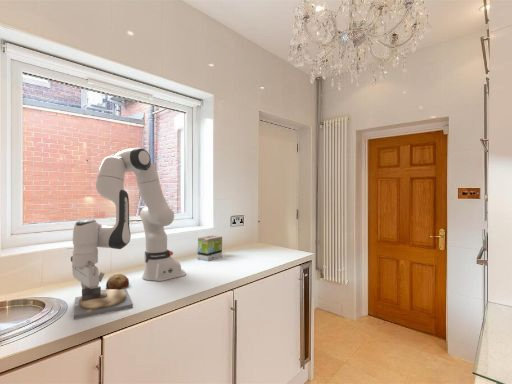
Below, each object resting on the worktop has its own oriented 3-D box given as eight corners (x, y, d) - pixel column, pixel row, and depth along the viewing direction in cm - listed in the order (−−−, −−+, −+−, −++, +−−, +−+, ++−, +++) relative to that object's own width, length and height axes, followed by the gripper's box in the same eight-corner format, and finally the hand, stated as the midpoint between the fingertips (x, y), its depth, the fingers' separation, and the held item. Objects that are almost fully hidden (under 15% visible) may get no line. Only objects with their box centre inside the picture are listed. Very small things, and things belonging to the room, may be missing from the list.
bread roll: (105, 294, 138) (98, 281, 135) (123, 280, 145) (117, 267, 142) (116, 298, 132) (109, 285, 129) (134, 283, 140) (128, 270, 137)
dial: (122, 289, 128) (122, 277, 128) (129, 302, 114) (129, 288, 114) (78, 297, 119) (78, 284, 119) (80, 312, 105) (80, 297, 105)
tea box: (208, 261, 186) (208, 239, 186) (197, 259, 192) (197, 237, 192) (222, 256, 199) (222, 236, 199) (211, 255, 205) (211, 234, 204)
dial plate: (126, 292, 130) (126, 288, 130) (132, 307, 113) (132, 303, 113) (75, 300, 120) (75, 296, 120) (73, 319, 103) (73, 314, 103)
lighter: (88, 292, 129) (88, 275, 129) (87, 291, 131) (87, 274, 130) (104, 288, 135) (104, 272, 134) (103, 287, 136) (103, 271, 136)
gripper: (103, 262, 110) (103, 297, 110) (85, 254, 124) (85, 285, 124) (85, 265, 105) (85, 302, 106) (69, 256, 119) (69, 288, 119)
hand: (85, 293), depth 115 cm, fingers closed
